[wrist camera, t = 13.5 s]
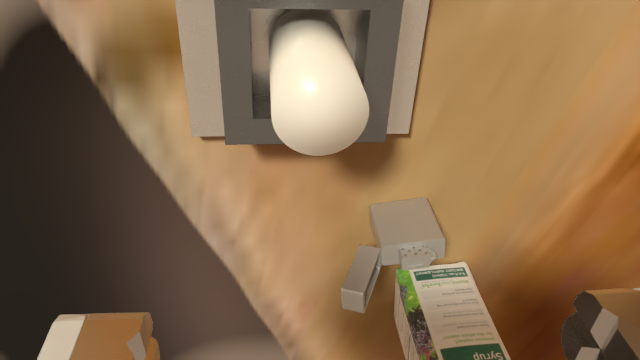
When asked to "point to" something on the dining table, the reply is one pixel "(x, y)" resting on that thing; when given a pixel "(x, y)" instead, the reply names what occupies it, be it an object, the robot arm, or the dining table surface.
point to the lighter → (393, 247)
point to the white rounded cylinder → (314, 84)
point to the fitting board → (254, 74)
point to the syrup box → (444, 315)
